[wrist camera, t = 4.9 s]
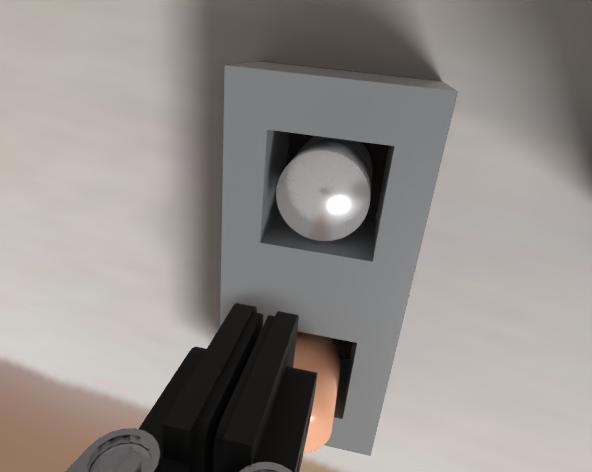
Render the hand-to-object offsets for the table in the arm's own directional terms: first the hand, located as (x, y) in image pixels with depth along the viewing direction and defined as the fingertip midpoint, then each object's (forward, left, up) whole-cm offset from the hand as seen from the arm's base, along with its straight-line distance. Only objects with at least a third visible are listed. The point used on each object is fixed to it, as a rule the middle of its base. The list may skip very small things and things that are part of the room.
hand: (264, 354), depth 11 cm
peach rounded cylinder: (0, +12, -14) cm, 19 cm away
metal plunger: (0, 0, -18) cm, 18 cm away
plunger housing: (0, +6, -19) cm, 20 cm away
